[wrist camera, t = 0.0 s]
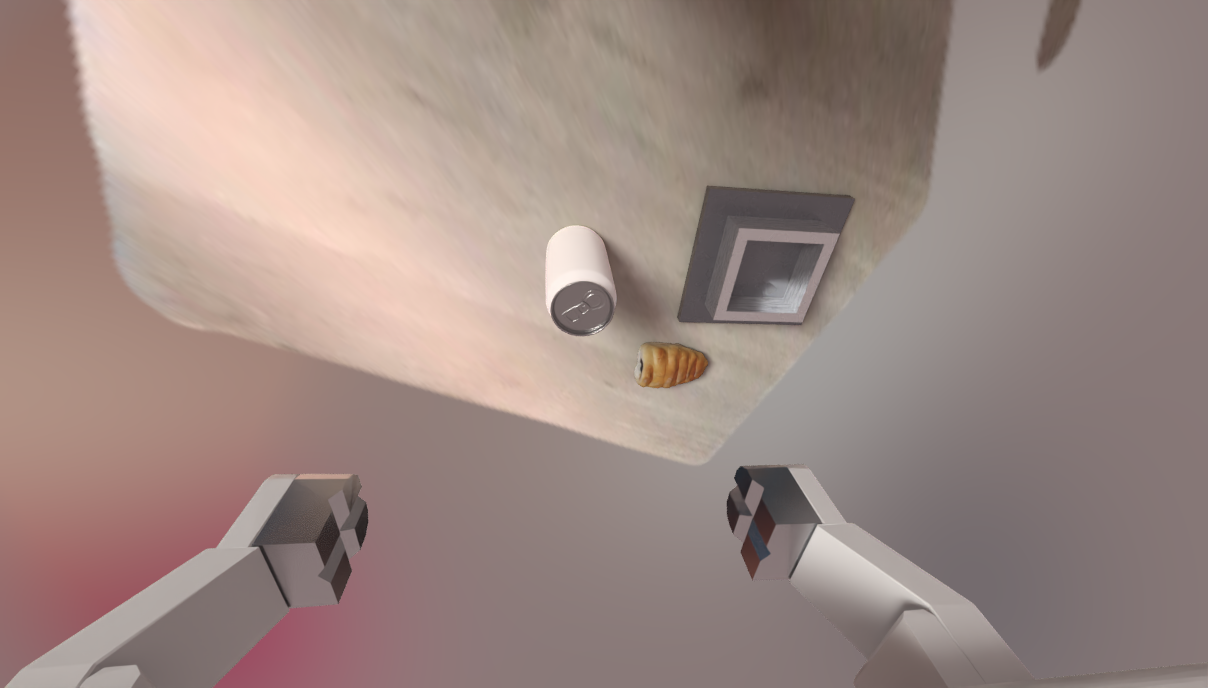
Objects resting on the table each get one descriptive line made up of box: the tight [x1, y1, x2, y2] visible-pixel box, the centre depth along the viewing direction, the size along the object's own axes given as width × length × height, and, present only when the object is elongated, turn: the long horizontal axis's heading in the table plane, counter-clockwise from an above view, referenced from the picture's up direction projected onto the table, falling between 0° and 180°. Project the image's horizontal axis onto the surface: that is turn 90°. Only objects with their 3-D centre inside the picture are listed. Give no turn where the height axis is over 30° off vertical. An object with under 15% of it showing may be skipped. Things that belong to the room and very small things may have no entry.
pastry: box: [634, 342, 708, 388], centre depth 57 cm, size 9×7×4 cm
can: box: [546, 225, 617, 336], centre depth 43 cm, size 6×6×12 cm
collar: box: [677, 186, 855, 325], centre depth 49 cm, size 16×16×4 cm
